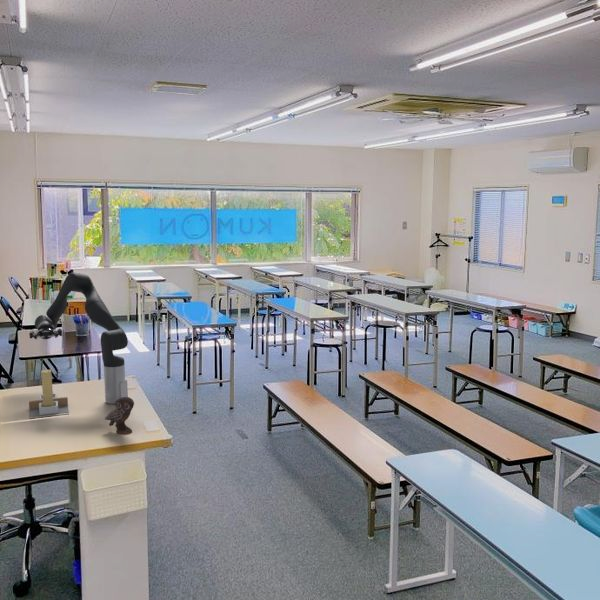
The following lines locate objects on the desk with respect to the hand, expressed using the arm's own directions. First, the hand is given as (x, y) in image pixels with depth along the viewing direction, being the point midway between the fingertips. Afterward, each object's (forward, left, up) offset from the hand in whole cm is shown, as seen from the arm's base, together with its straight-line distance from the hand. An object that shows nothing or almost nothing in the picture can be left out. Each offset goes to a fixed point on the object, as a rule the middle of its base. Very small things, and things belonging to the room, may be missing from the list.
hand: (46, 336), depth 290 cm
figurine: (-54, +32, -30) cm, 70 cm away
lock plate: (-8, +12, -30) cm, 33 cm away
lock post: (-12, +18, -29) cm, 36 cm away
